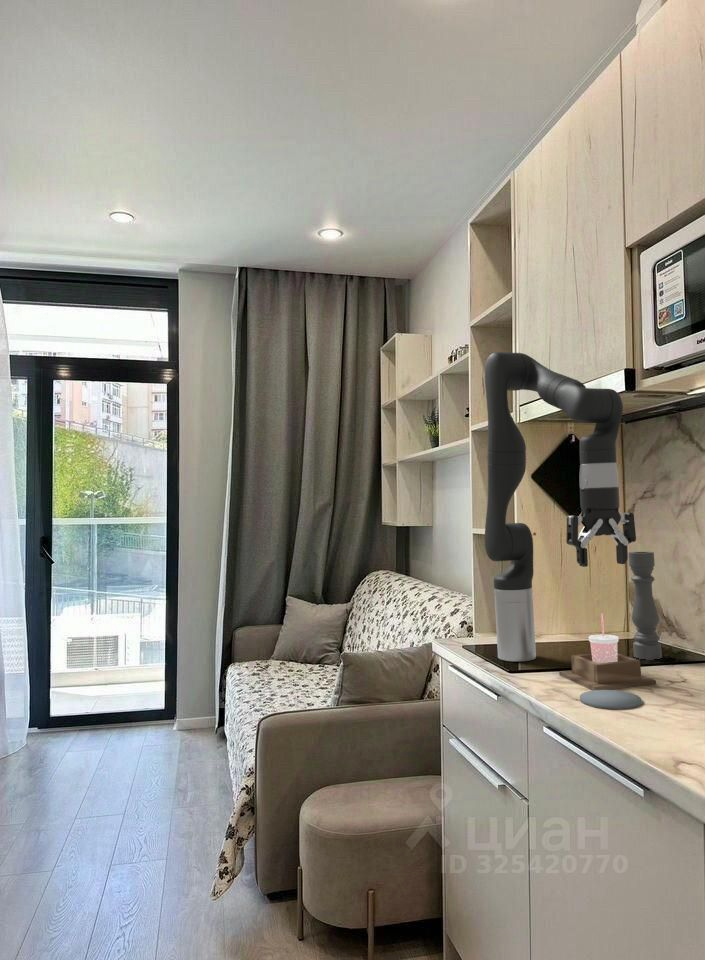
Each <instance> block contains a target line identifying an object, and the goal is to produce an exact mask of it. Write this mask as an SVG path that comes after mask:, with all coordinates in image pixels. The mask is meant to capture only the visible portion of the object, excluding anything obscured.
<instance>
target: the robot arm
mask: <svg viewBox="0 0 705 960" xmlns="http://www.w3.org/2000/svg"><path fill="white" fill-rule="evenodd" d="M484 385H485V386H484V387H485V396H486V406H487V407H486V409H487V410H486V411H487V506H486V515H485V525H484V527H485V529H484V549H485V552H486V556H487V557H488V558H489V560H491V561H492V562H508V561H510V565H509V566H508V567H507V569H506V570H505V571H503V572H500V573H499V574H497V575H496V576H494V578H493V591H494V595H493V596H494V609H495V625H496V626H495V629H496V645H497V646H496V647H497V658H498V659H499V660H502V661H506V662H528V661H533V660H535V659H537V651H536V649H537V648H536V630H535V615H534V614H535V613H534V599H533V597H534V595H533V578H534V538H533V534H532V531H531V529H530V527H529V526H528V525H527V524H526V523H524V522H510V523H507V522H506V520H507V512H508V508H509V505H510V501H511V500H512V497H513V496H514V494H515V492H516V490H517V489H518V487H519V486H520V484H521V483H522V480H523V478H524V476H525V473H526V465H527V462H526V461H527V454H526V453H527V452H526V451H527V448H526V447H527V445H526V442H525V439H524V436H523V434H522V433H521V430H520V429H519V427H518V426H517V424H516V422H515V421H514V420H515V419H514V418H513V417H512V415H511V412H510V407H509V401H508V399H509V398H508V391H510V392H511V391H513V392H514V391H522V390H523V391H533V392H537V394H538V396H539V397H540V399H541V400H542V401H543V402H544V403H546V404H548V405H549V406H552V407H555V408H556V409H558V410H559V409H560V410H562V411H563V413H564V414H566V415H567V416H568V417H569V418H570V419H571V420H574V421H576V422H579V423H582V424H583V423H584V424H591V423H592V424H593V423H594V424H595V426H594V429H593V433H591V434H587V435H585V436H582V437H581V439H580V440H579V464H580V465H579V476H578V477H579V499H580V500H579V501H580V508H581V514H580V515H579V516H577V515H567V517H566V539H565V540H566V544H567V545H568V546H571V547H574V548H575V550H576V552H575V553H576V563H577V564H579V566H580V567H581V568H582V567H584V568H587V567H588V565H589V562H588V561H589V560H588V548H587V545H588V544H589V543H590V541H591V540H592V539H593V538H594V536H595V537H600V536H609V537H611V538H612V539H613V540H614V542H615V544H617V545H615V549H616V550H615V553H616V555H615V556H616V563H617V564H619V565H626V563H627V561H628V560H629V554H628V545H629V544H631V543H634V542H635V543H636V540H637V534H636V533H637V532H636V524H635V522H636V521H635V515H634V513H633V512H623V513H620V511H619V508H620V505H621V504H620V487H619V486H620V485H619V484H620V483H619V481H620V480H619V472H618V465H617V448H616V447H617V446H616V442H617V438H618V434H619V430H620V426H621V422H622V416H623V412H624V411H623V410H624V409H623V408H624V405H623V401H622V398H621V396H620V394H619V393H618V391H616V390H615V389H613V388H612V389H611V388H592V387H590V388H589V387H587V386H586V385H585V384H584V383H583V382H581V381H579V380H578V379H574V378H572V377H569V376H567V375H565V374H561V373H558V372H555V371H553V370H551V369H550V368H547V366H545V365H543V364H541V363H540V362H539V361H537V360H536V359H534V358H533V357H531V356H529V354H525V353H522V352H505V351H497V352H496V351H495V352H492V353H491V354H490V355H488V358H487V359H486V362H485V367H484ZM620 522H621V524H622V529H621V528H620V526H619V523H620ZM580 525H582V526H583V527H582V529H581V530H580V532H579V527H580Z"/></svg>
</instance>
